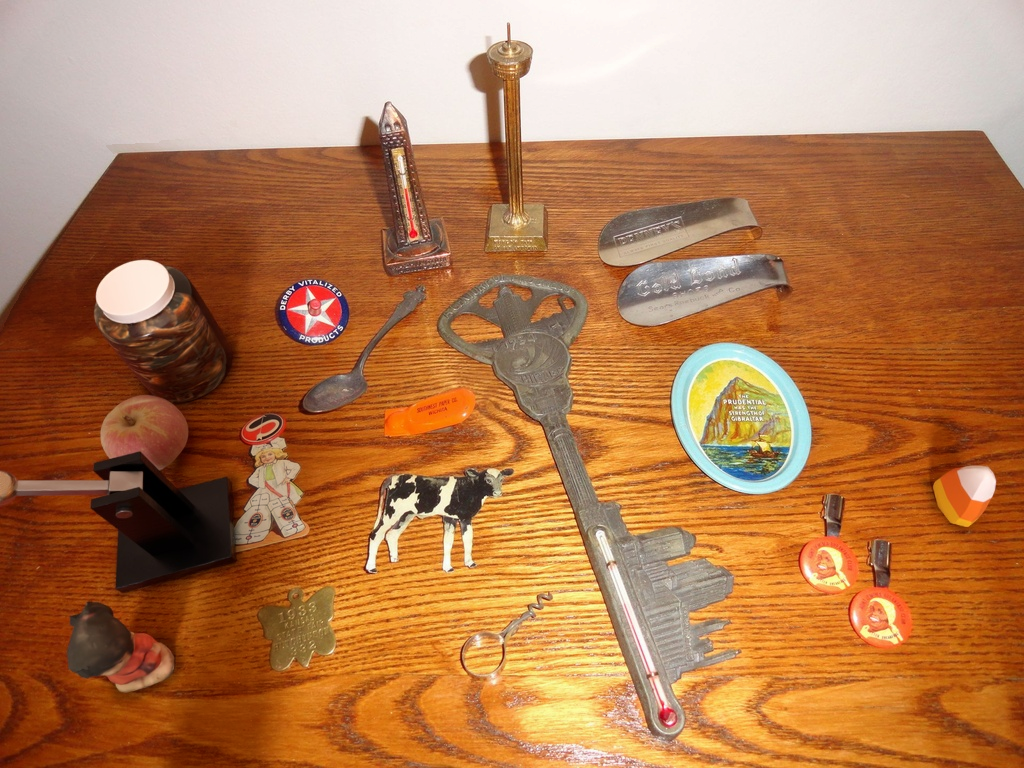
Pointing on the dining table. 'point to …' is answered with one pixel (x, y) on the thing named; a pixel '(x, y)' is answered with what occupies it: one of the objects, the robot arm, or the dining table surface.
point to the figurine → (115, 650)
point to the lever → (67, 485)
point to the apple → (145, 430)
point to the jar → (162, 330)
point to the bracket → (166, 524)
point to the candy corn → (964, 493)
